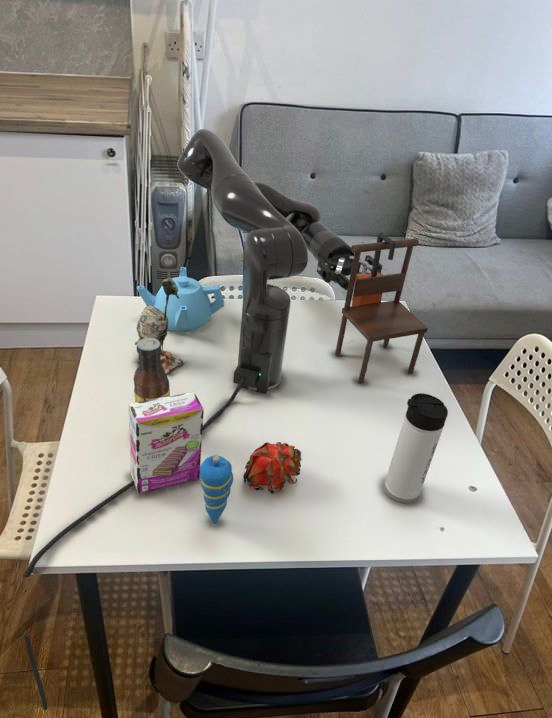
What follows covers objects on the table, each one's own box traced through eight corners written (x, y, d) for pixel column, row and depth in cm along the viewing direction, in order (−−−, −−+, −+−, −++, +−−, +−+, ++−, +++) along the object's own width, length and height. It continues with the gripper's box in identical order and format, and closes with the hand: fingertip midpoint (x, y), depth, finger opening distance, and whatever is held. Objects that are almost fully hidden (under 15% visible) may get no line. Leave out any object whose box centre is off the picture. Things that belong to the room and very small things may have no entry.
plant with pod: (155, 343, 142) (153, 261, 129) (188, 366, 136) (190, 282, 124) (125, 356, 137) (120, 272, 125) (158, 380, 131) (157, 295, 119)
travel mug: (378, 477, 114) (403, 389, 102) (413, 477, 115) (443, 390, 102) (386, 503, 109) (414, 415, 97) (423, 503, 110) (456, 415, 98)
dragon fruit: (302, 477, 115) (247, 508, 110) (279, 435, 116) (223, 465, 111) (320, 469, 107) (262, 503, 103) (296, 425, 108) (237, 456, 103)
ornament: (225, 537, 101) (230, 470, 92) (193, 530, 101) (196, 463, 92) (232, 513, 105) (238, 447, 96) (202, 507, 106) (205, 440, 96)
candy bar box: (138, 496, 106) (135, 422, 96) (130, 476, 110) (126, 402, 99) (201, 480, 110) (205, 407, 100) (192, 461, 114) (194, 389, 103)
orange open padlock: (390, 325, 138) (406, 240, 128) (368, 328, 136) (383, 242, 126) (371, 309, 144) (385, 227, 133) (350, 312, 142) (363, 229, 132)
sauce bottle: (176, 427, 120) (177, 339, 108) (162, 447, 116) (161, 358, 103) (145, 417, 122) (142, 329, 110) (130, 437, 117) (125, 348, 105)
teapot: (180, 345, 142) (181, 303, 135) (135, 318, 149) (134, 277, 142) (227, 320, 152) (229, 280, 145) (182, 296, 159) (183, 257, 152)
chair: (416, 373, 141) (449, 263, 124) (356, 385, 136) (383, 271, 119) (388, 344, 149) (415, 236, 132) (330, 353, 144) (351, 243, 127)
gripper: (354, 262, 156) (389, 295, 144) (302, 269, 151) (333, 303, 140) (360, 234, 151) (396, 265, 140) (306, 239, 146) (339, 272, 135)
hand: (365, 284), depth 140 cm, fingers open, 8 cm apart
